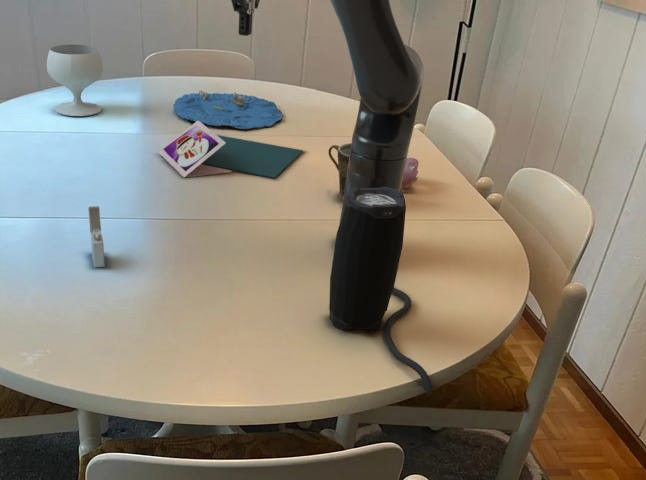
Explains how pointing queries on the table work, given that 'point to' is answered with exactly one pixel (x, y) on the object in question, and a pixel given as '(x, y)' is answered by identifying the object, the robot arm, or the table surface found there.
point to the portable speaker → (366, 257)
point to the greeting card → (194, 151)
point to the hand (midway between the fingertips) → (244, 34)
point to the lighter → (96, 237)
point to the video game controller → (410, 172)
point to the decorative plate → (227, 110)
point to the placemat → (252, 157)
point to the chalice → (75, 75)
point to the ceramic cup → (341, 164)
